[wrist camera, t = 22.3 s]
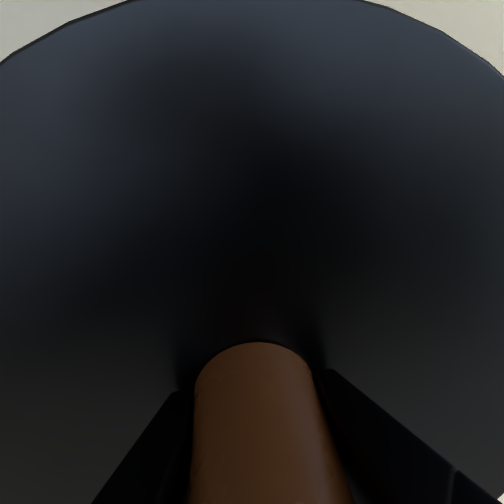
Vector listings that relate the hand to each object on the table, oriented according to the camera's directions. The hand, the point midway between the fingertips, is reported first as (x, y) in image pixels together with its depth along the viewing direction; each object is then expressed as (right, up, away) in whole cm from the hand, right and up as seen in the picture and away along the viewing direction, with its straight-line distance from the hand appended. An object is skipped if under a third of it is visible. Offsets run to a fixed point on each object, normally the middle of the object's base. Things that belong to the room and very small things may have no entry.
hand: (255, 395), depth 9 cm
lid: (0, 0, +1) cm, 1 cm away
